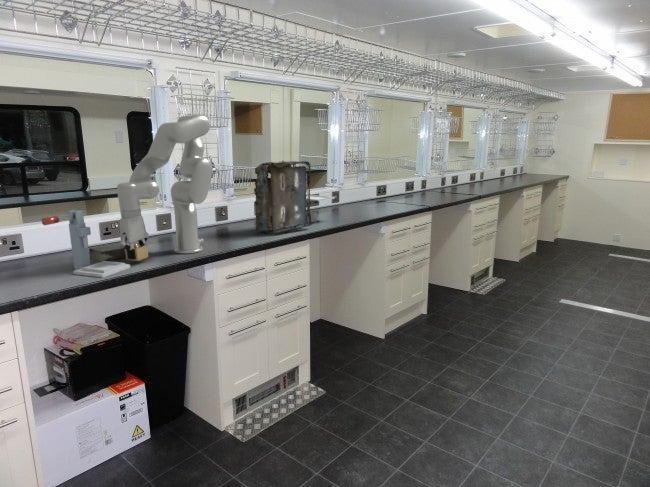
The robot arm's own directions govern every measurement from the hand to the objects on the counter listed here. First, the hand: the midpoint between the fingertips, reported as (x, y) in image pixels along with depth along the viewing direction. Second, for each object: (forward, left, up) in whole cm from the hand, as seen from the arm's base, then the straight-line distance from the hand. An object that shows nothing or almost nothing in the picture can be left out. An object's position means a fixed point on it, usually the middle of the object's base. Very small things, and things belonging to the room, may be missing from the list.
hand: (137, 256), depth 186 cm
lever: (+20, -14, +17) cm, 30 cm away
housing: (0, 0, -1) cm, 1 cm away
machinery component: (-77, +28, -3) cm, 82 cm away
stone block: (-7, -16, -3) cm, 18 cm away
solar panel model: (-114, +32, -3) cm, 118 cm away
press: (+14, -7, -3) cm, 16 cm away
